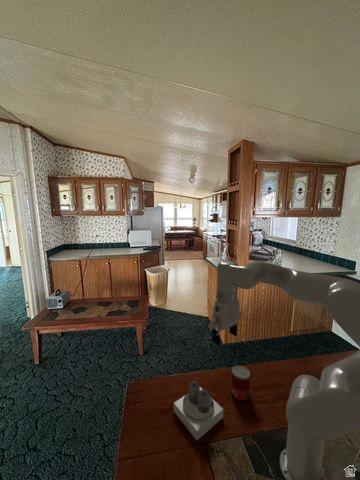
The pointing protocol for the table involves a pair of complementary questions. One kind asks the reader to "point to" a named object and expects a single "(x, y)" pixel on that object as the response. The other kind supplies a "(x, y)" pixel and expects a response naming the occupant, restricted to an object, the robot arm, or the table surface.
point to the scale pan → (196, 408)
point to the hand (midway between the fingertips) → (224, 338)
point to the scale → (198, 426)
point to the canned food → (240, 382)
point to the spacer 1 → (193, 391)
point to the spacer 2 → (203, 401)
